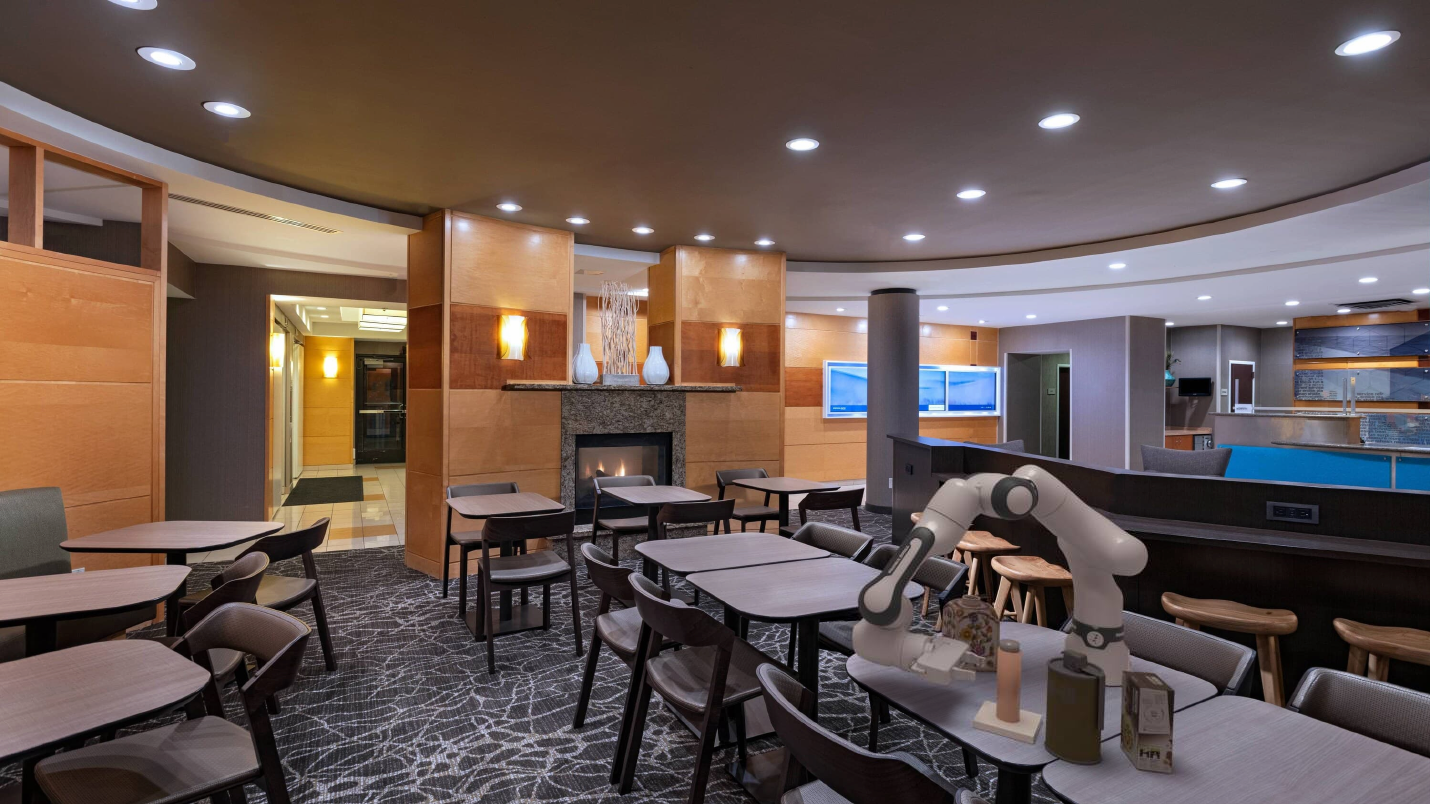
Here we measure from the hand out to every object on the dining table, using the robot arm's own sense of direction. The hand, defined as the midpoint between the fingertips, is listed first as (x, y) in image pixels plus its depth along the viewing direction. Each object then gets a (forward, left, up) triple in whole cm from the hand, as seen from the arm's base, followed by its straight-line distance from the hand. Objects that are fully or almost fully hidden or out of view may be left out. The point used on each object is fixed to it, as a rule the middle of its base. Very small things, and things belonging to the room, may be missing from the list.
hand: (980, 669), depth 153 cm
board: (0, +6, -11) cm, 12 cm away
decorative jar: (-31, -10, -11) cm, 34 cm away
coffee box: (-1, +31, -11) cm, 33 cm away
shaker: (0, +6, -9) cm, 11 cm away
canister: (+4, +19, -11) cm, 23 cm away
